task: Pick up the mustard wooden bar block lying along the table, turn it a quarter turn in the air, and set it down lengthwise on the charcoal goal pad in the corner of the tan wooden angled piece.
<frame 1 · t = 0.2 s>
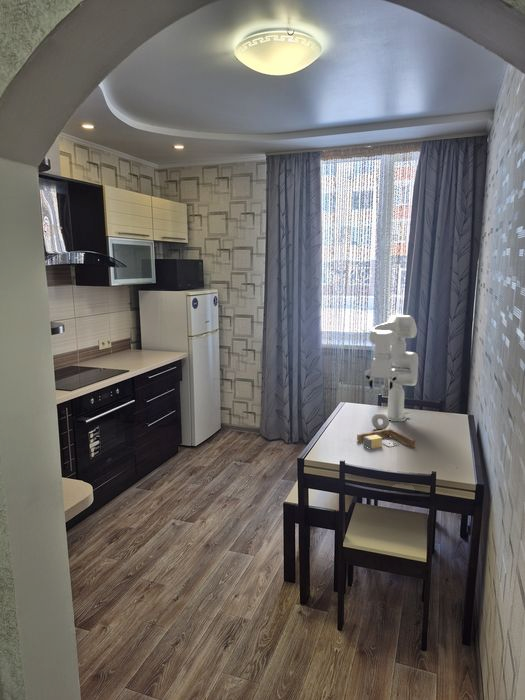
hand: (380, 388, 241), 30 cm above the table, tool pointing down, fingers open, 9 cm apart
tan wooden angled piece: (388, 443, 247), on the table
bar block: (372, 446, 243), on the table
donut: (380, 429, 268), on the table
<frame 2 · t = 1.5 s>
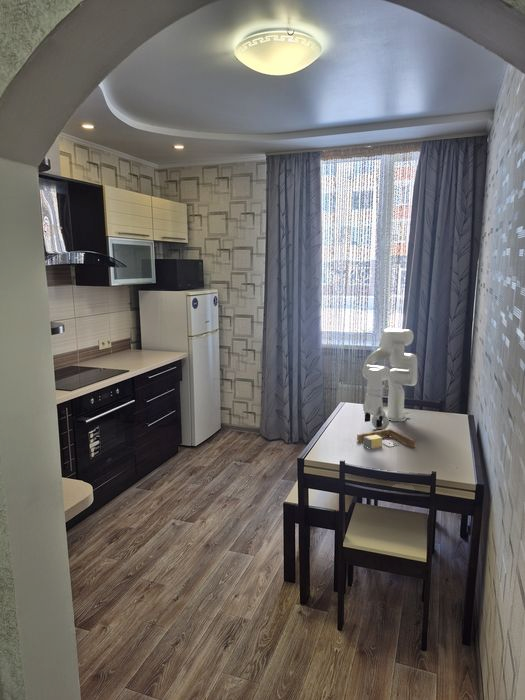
hand: (373, 424, 240), 12 cm above the table, tool pointing down, fingers open, 9 cm apart
nothing on the table moved.
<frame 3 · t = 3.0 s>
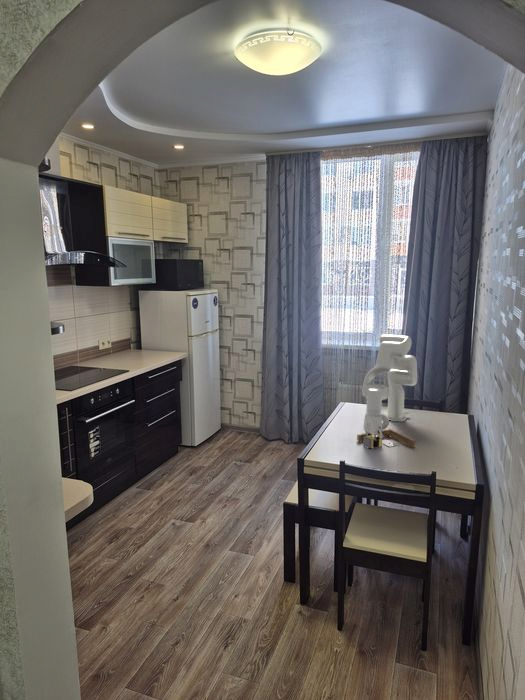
hand: (372, 444, 243), 1 cm above the table, tool pointing down, fingers closed on bar block, 5 cm apart
bar block: (372, 446, 243), on the table, touching gripper
everything else where it was.
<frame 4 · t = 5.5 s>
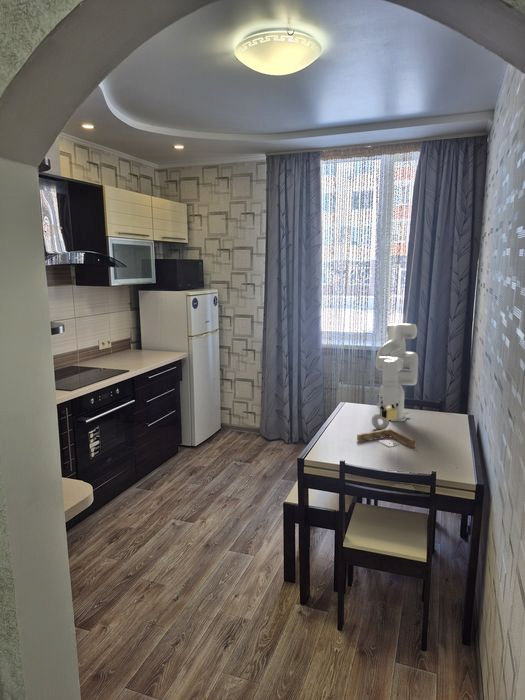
hand: (388, 416, 244), 15 cm above the table, tool pointing down, fingers closed on bar block, 5 cm apart
bar block: (388, 417, 244), point 14 cm above the table, touching gripper
everything else where it was.
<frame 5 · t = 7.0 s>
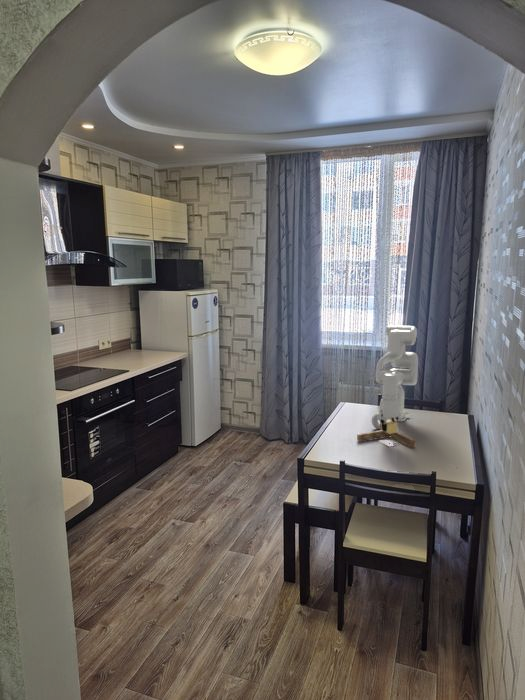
hand: (388, 429, 245), 8 cm above the table, tool pointing down, fingers closed on bar block, 5 cm apart
bar block: (388, 430, 245), point 7 cm above the table, touching gripper
everything else where it was.
when the fingers open (3 cm above the table, at t = 8.3 s): bar block drops 2 cm, resting on tan wooden angled piece.
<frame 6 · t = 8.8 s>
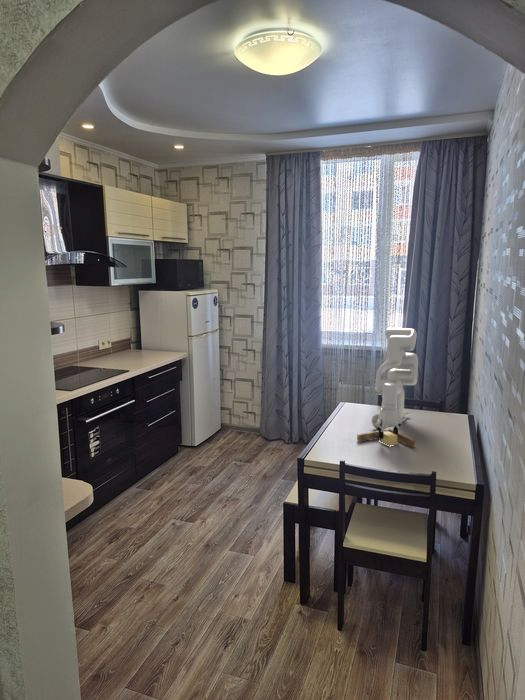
hand: (388, 436, 246), 3 cm above the table, tool pointing down, fingers open, 9 cm apart
bar block: (388, 442, 247), resting on tan wooden angled piece
everything else where it was.
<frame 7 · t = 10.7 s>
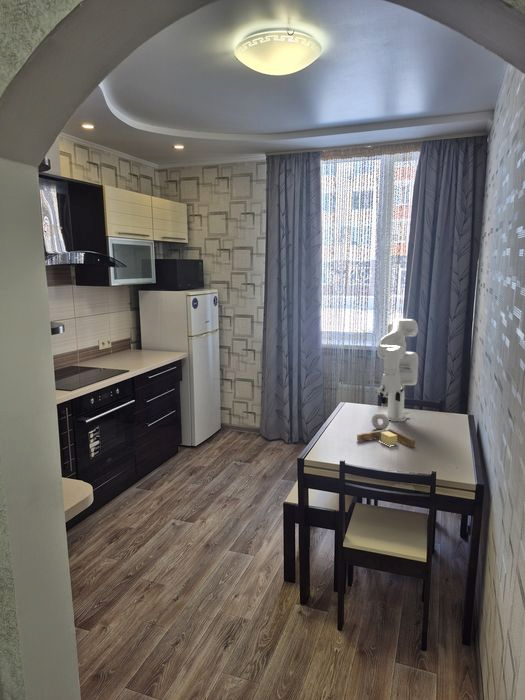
hand: (390, 402, 249), 21 cm above the table, tool pointing down, fingers open, 9 cm apart
nothing on the table moved.
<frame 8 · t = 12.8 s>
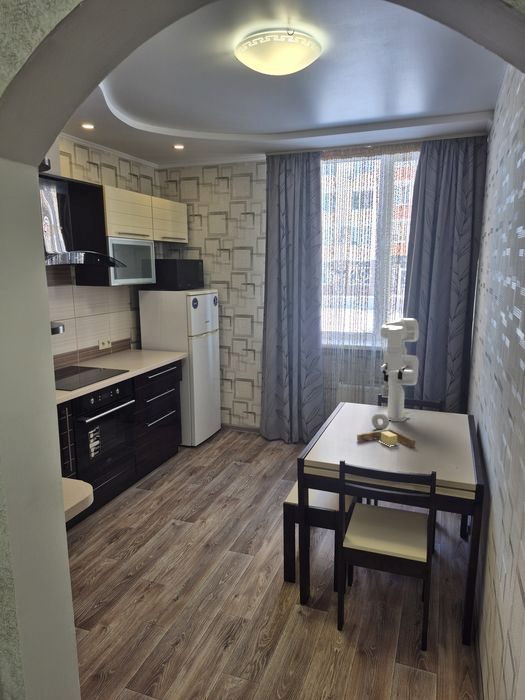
hand: (393, 380, 258), 30 cm above the table, tool pointing down, fingers open, 9 cm apart
nothing on the table moved.
at the end: bar block 0.1 cm off-centre on the tan wooden angled piece, point 0.3 cm above the tan wooden angled piece's base; bar block tilted 0°; the gripper is holding nothing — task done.
